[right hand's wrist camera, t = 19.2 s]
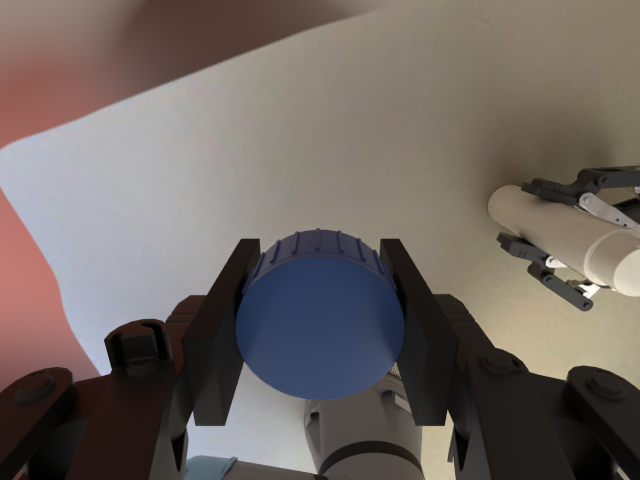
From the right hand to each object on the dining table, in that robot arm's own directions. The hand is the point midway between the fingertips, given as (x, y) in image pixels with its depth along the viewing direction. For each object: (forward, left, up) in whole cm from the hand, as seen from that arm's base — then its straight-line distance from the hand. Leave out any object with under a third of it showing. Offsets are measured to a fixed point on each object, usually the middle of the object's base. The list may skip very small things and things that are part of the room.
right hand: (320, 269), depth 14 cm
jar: (-10, -17, -22) cm, 29 cm away
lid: (0, 0, +4) cm, 4 cm away
